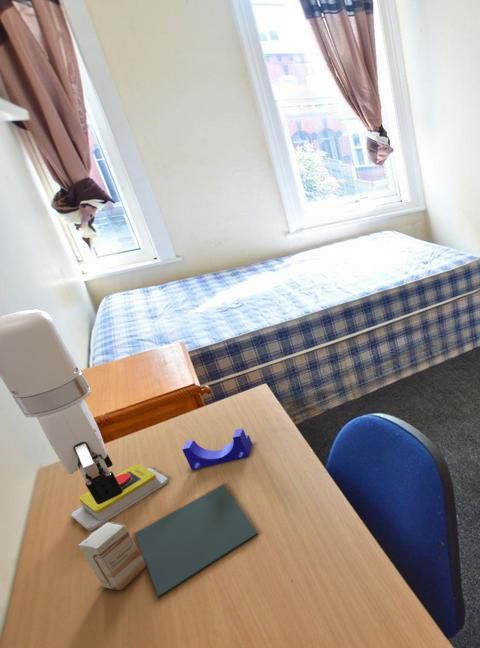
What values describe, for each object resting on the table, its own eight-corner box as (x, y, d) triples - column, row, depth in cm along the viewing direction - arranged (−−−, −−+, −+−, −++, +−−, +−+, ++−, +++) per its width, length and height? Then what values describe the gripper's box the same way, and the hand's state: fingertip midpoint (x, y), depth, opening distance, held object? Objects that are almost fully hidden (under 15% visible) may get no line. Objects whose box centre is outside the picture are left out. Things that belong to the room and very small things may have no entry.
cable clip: (252, 444, 114) (244, 424, 111) (248, 456, 110) (239, 436, 107) (198, 457, 111) (189, 437, 109) (191, 470, 107) (182, 449, 105)
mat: (158, 597, 78) (158, 596, 78) (135, 534, 91) (134, 533, 91) (257, 534, 88) (257, 532, 88) (224, 485, 101) (223, 484, 101)
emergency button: (162, 465, 103) (79, 515, 91) (170, 481, 104) (89, 532, 93) (142, 454, 107) (61, 500, 96) (150, 469, 109) (71, 516, 97)
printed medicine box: (121, 591, 80) (94, 550, 76) (102, 587, 81) (75, 546, 77) (149, 564, 84) (125, 523, 80) (130, 560, 85) (106, 520, 81)
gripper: (17, 386, 71) (70, 473, 78) (20, 429, 60) (82, 526, 67) (80, 365, 76) (124, 448, 83) (94, 401, 65) (144, 494, 71)
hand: (105, 483), depth 75 cm, fingers open, 9 cm apart
